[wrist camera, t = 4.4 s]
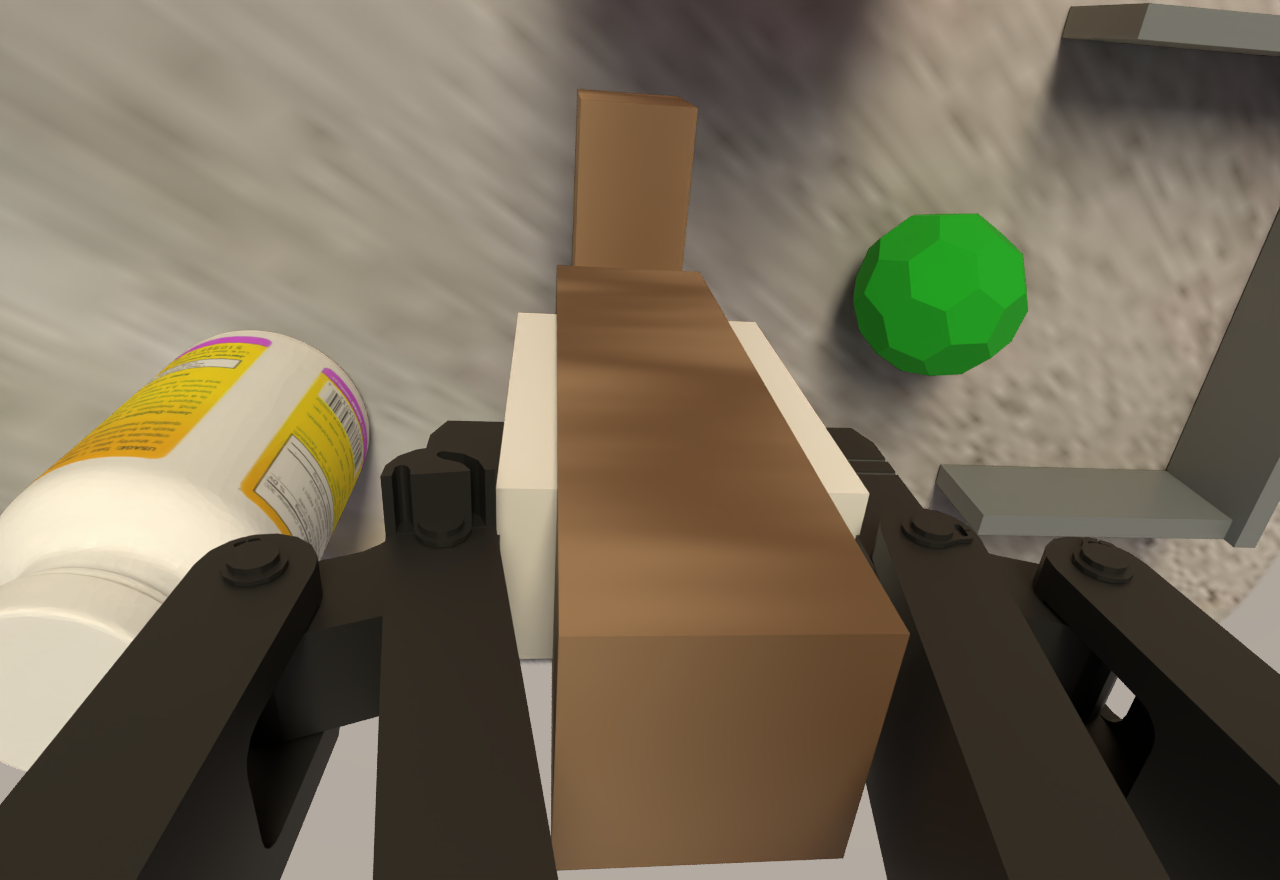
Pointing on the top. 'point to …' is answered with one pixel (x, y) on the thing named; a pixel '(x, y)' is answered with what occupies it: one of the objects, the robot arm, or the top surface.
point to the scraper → (691, 552)
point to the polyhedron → (940, 293)
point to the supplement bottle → (164, 511)
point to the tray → (1229, 400)
